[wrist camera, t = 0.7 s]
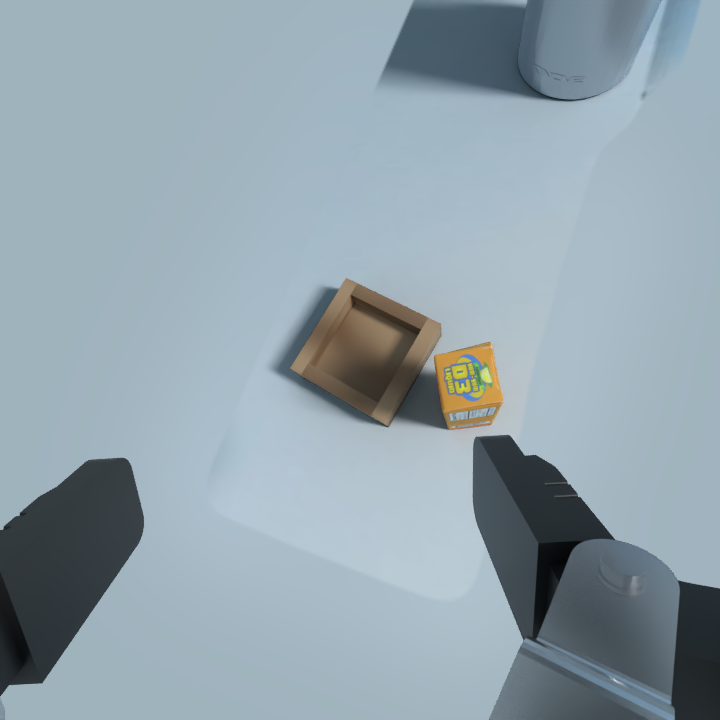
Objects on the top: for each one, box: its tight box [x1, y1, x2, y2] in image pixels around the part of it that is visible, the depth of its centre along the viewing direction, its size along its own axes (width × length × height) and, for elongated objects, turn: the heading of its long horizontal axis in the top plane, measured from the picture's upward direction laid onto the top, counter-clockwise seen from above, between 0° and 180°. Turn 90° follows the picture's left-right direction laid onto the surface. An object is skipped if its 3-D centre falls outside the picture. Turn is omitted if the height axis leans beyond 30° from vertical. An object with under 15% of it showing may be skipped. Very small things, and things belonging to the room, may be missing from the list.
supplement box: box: [434, 342, 504, 430], centre depth 27 cm, size 3×3×10 cm
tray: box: [290, 278, 441, 427], centre depth 33 cm, size 8×8×2 cm
